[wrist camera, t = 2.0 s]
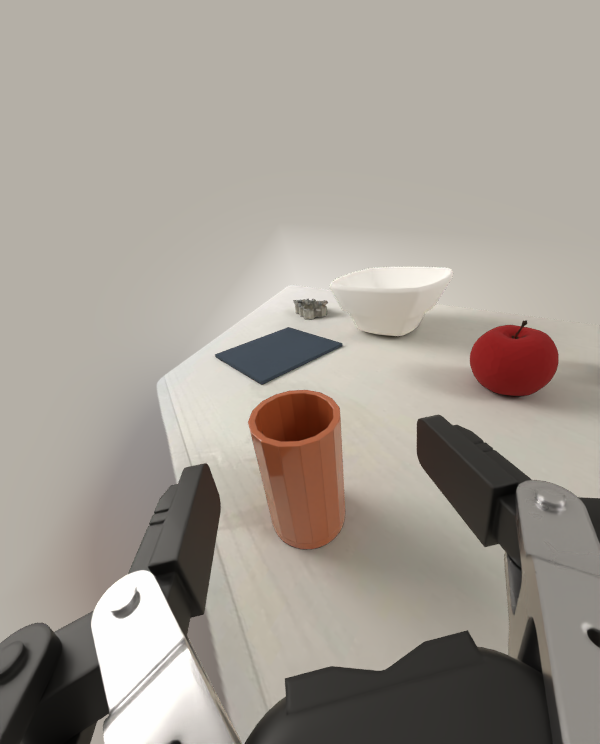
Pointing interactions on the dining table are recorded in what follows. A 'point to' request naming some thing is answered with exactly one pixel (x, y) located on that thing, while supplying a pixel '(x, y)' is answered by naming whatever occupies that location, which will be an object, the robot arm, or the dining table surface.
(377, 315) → the bowl
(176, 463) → the dining table surface
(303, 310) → the grey jagged stone ring
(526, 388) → the apple
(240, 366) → the mat
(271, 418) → the cup
